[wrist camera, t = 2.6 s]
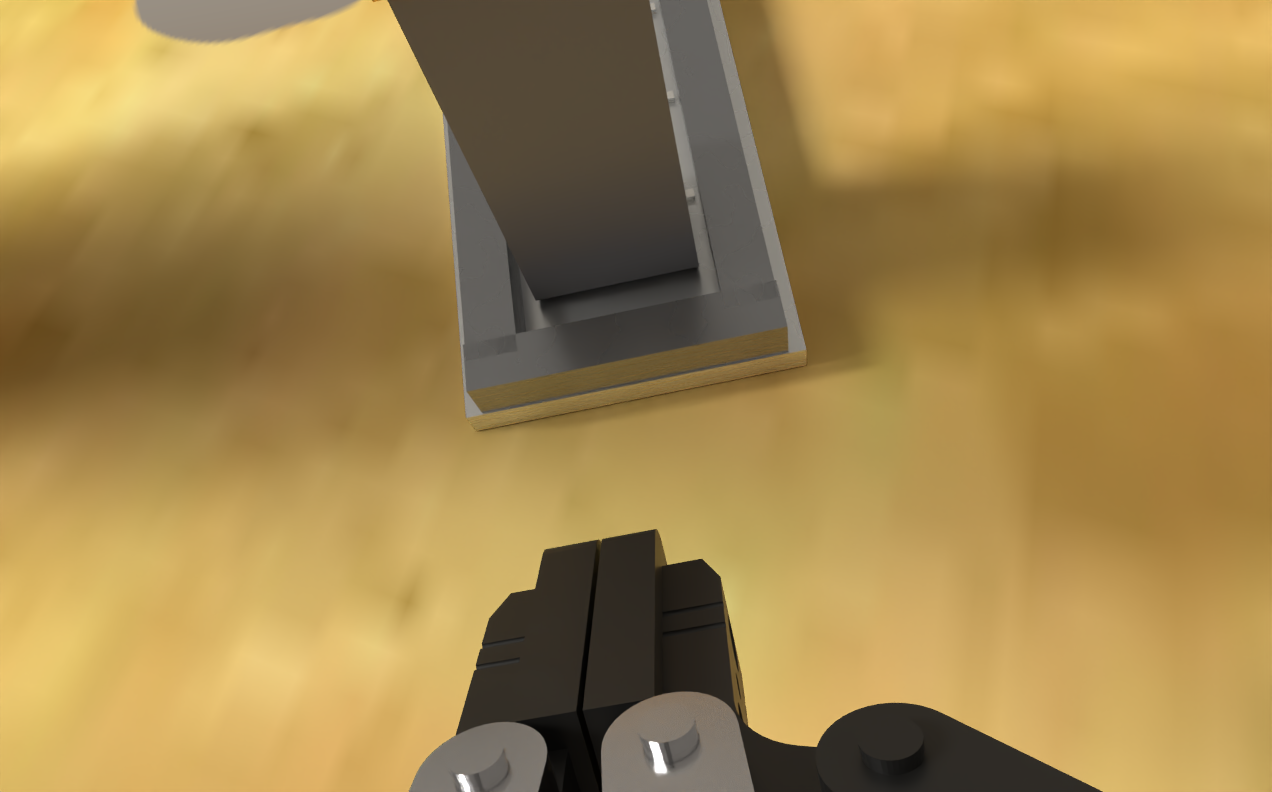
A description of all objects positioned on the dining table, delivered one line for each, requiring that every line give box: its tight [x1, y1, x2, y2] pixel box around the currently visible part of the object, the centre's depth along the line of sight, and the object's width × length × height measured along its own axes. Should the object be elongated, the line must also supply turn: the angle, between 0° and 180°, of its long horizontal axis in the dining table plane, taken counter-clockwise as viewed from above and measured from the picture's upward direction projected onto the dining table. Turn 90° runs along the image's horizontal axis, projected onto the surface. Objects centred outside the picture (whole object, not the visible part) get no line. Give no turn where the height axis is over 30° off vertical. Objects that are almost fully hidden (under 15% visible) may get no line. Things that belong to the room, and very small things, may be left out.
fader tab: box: [372, 0, 699, 301], centre depth 25 cm, size 4×5×13 cm
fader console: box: [443, 0, 807, 431], centre depth 34 cm, size 24×10×2 cm, turn 8°
